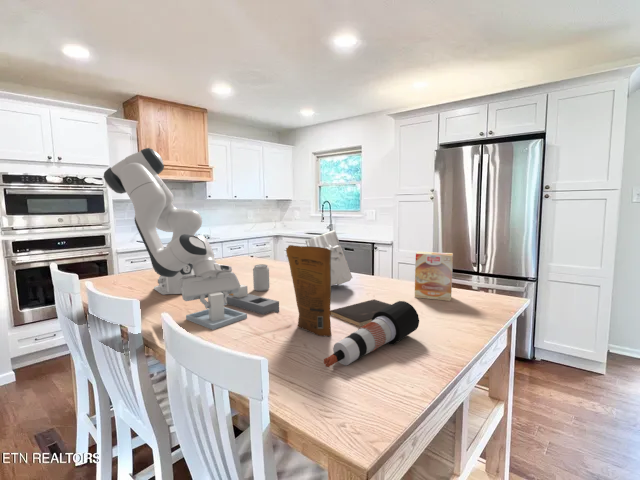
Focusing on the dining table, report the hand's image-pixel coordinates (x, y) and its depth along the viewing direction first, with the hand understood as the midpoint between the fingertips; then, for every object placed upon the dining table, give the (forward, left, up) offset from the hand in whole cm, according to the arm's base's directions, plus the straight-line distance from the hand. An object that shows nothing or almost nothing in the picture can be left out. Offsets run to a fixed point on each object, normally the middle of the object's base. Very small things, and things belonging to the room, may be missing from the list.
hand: (216, 305), depth 119 cm
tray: (-1, 0, -6) cm, 6 cm away
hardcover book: (+38, +39, -7) cm, 55 cm away
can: (-21, +39, -6) cm, 45 cm away
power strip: (-3, +17, -6) cm, 18 cm away
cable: (+54, +12, -6) cm, 56 cm away
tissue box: (0, +64, -6) cm, 64 cm away
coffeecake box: (+49, +75, -6) cm, 90 cm away
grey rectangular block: (-1, 0, -5) cm, 5 cm away
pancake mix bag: (+31, +14, -6) cm, 35 cm away
